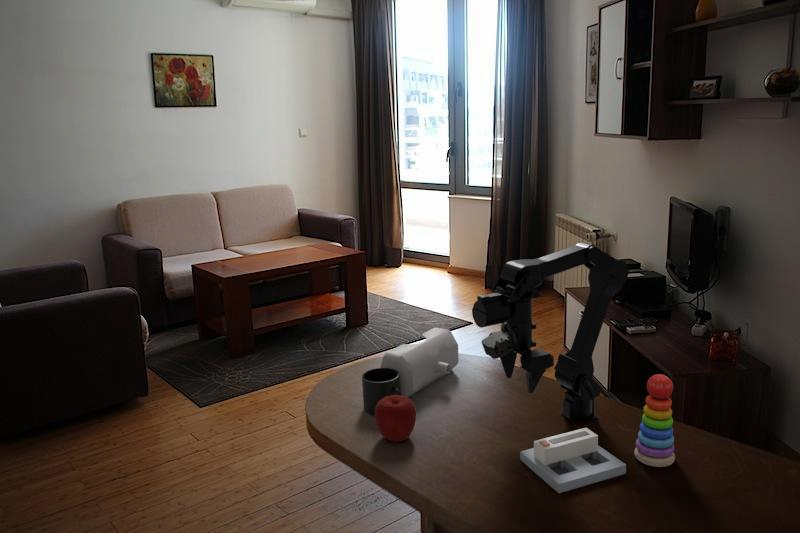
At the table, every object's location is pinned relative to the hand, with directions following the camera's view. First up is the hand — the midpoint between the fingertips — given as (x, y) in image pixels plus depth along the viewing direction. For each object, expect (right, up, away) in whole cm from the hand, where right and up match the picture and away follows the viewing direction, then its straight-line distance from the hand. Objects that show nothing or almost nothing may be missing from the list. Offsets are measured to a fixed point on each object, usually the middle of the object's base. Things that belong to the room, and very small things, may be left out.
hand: (519, 385), depth 152 cm
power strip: (+8, -14, -10) cm, 19 cm away
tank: (-20, -6, +33) cm, 39 cm away
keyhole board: (+9, -15, -12) cm, 21 cm away
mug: (-30, -10, +19) cm, 37 cm away
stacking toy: (+26, -14, -10) cm, 32 cm away
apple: (-28, -13, +4) cm, 31 cm away
